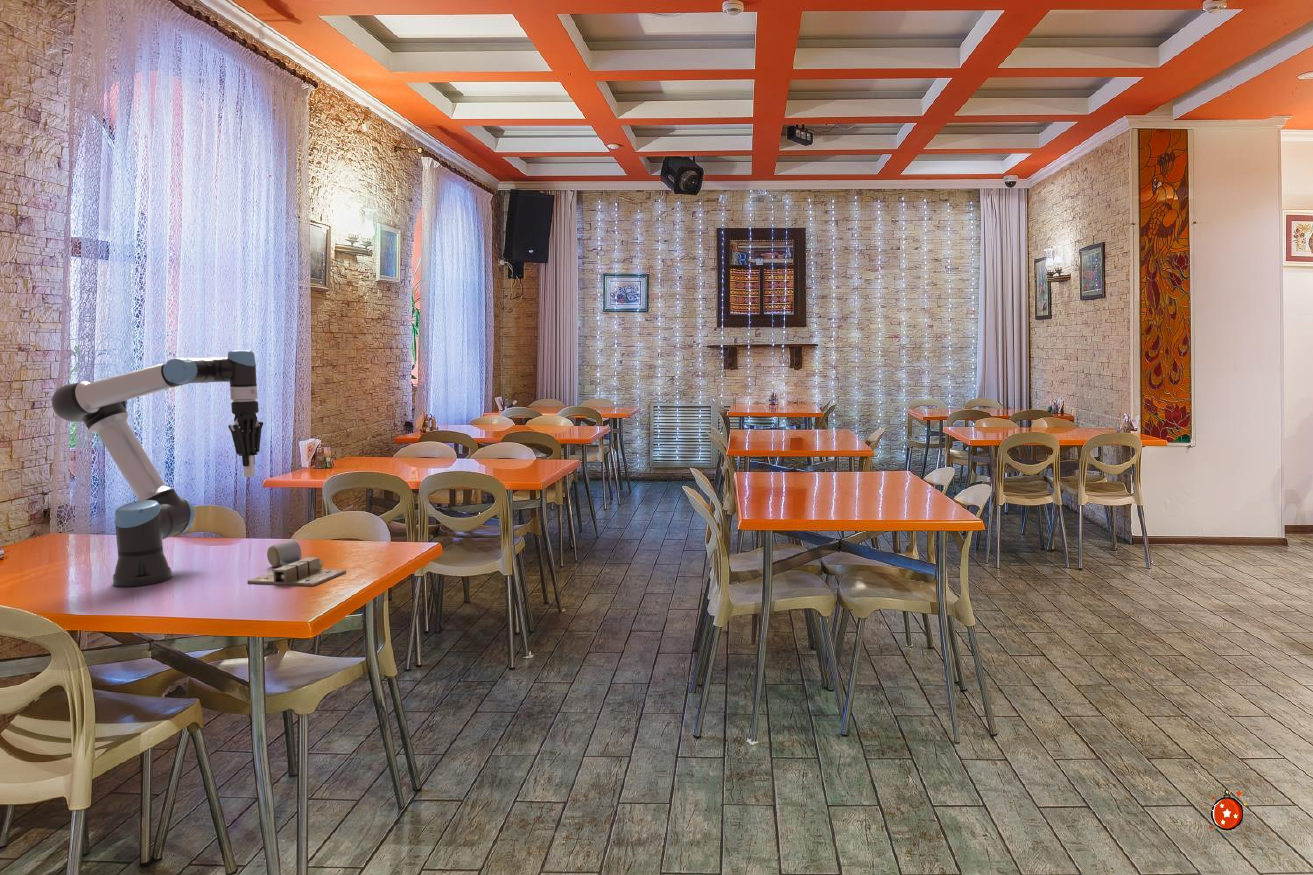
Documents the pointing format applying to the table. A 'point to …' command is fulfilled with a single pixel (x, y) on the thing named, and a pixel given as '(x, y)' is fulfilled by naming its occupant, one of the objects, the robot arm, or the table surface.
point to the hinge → (299, 574)
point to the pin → (296, 568)
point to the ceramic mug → (284, 553)
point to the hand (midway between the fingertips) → (249, 476)
